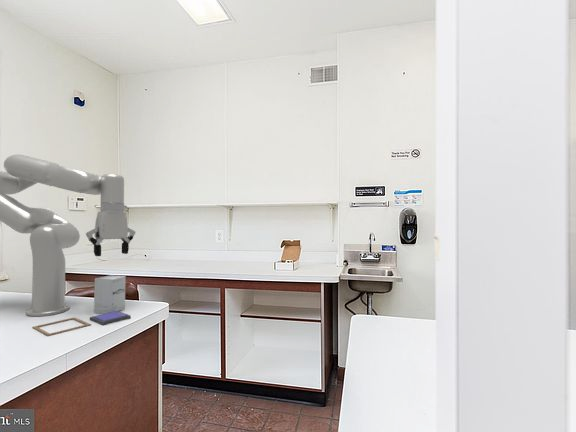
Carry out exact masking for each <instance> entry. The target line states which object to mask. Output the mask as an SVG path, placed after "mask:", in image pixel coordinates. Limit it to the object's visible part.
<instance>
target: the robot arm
mask: <svg viewBox="0 0 576 432" xmlns="http://www.w3.org/2000/svg"><path fill="white" fill-rule="evenodd" d="M3 168H4V170H5V171H3V170H0V222H2V223H3V224H4V225H6V226H7V227H8V228H10V229H12V230H14V231H15V232H17V233H19V234H30V235H29V245H30V249H31V256H32V276H31V278H32V281H31V282H32V285H31V286H32V288H31V291H32V292H31V307H30V308H28V309H27V310H26V311H25V315H27V316H30V317H44V316H51V315H58V314H60V313H61V314H62V313H64V312H66V311H69V310H70V306H71V305H69V304H67V303H65V301H66V299H65V297H66V257H65V254H64V251H63V249H69V248H72V247H74V246H76V245H77V243H78V242H79V241H80V237H81V235H80V231H79V230H78V229H77V227H76V226H75V225H74V224H72V223H71V222H69V221H67V220H66V219H65V218H63V217H61V216H60V215H58V213H55V212H53V211H52V210H49V209H47V208H43V207H29V206H28V205H25V204H23V203H21V202H20V201H18V200H17V199H15V198H14V197H12V196H10V195H17V194H18V193H21V192H23V191H25V190H27V189H29V188H30V187H33V186H34V185H36V184H42V185H45V186H49V187H54V188H57V189H62V190H65V191H66V190H67V191H71V192H74V193H78V194H86V195H91V196H92V195H93V196H98V195H100V209H99V210H100V211H97V213H96V218H95V225H94V228H93V229H91V230H89V231H87V232H85V236H86V238H87V239H88V241H89V242H90V243H92V245H93V254H94V256H95V257H101V256H102V245H101V244H102V242H103V241H104V240H121V241H122V243H121V254H124V255H127V254H129V248H130V247H129V244H130V243H131V241H132V240H133V239H134V236H135V234H136V231H135V230H133V229H131V228H130V227H128V226H129V225H128V220H127V219H128V218H127V213H126V212H125V210H127V209H128V206H127V205H125V178H124V176H123V175H120V174H113V173H112V174H111V173H108V174H107V173H106V174H103V175H98V174H94V173H90V172H86V171H82V170H78V169H74V168H71V167H65V166H62V165H60V164H58V163H56V162H54V161H53V162H52V161H48V160H44V159H41V158H36V157H31V156H28V155H24V154H13V155H10V156H8V157H6V158H5V160H4V162H3ZM128 233H129V235H128ZM93 234H94V237H93Z"/></svg>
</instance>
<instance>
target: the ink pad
mask: <svg viewBox="0 0 576 432" xmlns="http://www.w3.org/2000/svg"><path fill="white" fill-rule="evenodd" d="M130 319H131V314H128V313H124V312H122V311H114V312H109V313H105V314H97V315H92V316H89V321H91V322H94V323H96V324H99V325H100V326H106V325H110V324H113V323H117V322H122V321H125V320H130Z"/></svg>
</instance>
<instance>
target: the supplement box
mask: <svg viewBox="0 0 576 432" xmlns="http://www.w3.org/2000/svg"><path fill="white" fill-rule="evenodd" d="M126 277H127V276H126V275H114V274H113V275H109V274H108V275H106V276H100V277H97V278H96V277H95V278H94V289H93V292H94V296H93V299H94V300H93V313H94V314H98V315H101V314H105V313H109V312H114V311H119V312H121V311H123V310H125V309H126V308H125V307H126V281H127V280H126Z"/></svg>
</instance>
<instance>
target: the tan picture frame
mask: <svg viewBox="0 0 576 432" xmlns="http://www.w3.org/2000/svg"><path fill="white" fill-rule="evenodd" d="M69 321H75V322H78V323H80V324H82V325H79V326H75V327H71V328H67V329H62V330H59V331H55V332H51V333H50V332H47V331H46V330H43V329H42V327H46V326H51V325H55V324H60V323H64V322H69ZM89 326H92V324H91V323H89V322H87V321H84V320H82V319H79V318H76V317H74V316H73V317H70V318H66V319H61V320H57V321H51V322H49V323H43V324H38V325H35V326H32V327H31V328H32V329H34V330H35V331H37V332H39V334H40V333H41V334H42V335H44V336H46V337H50V336H55V335H58V334H62V333H66V332H70V331H73V330H79V329H81V328H85V327H89Z"/></svg>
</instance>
